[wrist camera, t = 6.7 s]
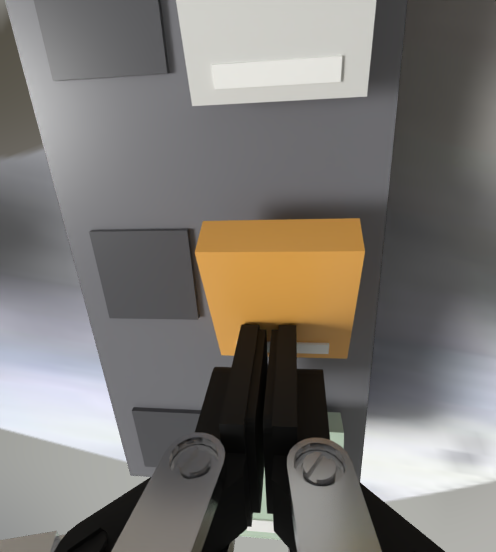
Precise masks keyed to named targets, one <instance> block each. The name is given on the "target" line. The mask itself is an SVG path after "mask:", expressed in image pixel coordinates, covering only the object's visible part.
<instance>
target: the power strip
mask: <svg viewBox="0 0 496 552" xmlns="http://www.w3.org/2000/svg"><path fill="white" fill-rule="evenodd" d="M407 1H408V0H376V10H375V20H374V30H373V40H372V50H371V60H370V71H369V81H368V91H367V97H350V98H331V99H313V100H295V101H277V102H259V103H241V104H223V105H204V106H192V101H191V95H190V88H189V82H188V75H187V69H186V62H185V56H184V50H183V43H182V37H181V30H180V24H179V17H178V11H177V4H176V0H5V2H6V6H7V10H8V14H9V18H10V21H11V25H12V29H13V33H14V36H15V40H16V44H17V48H18V51H19V55H20V59H21V63H22V66H23V71H24V74H25V78H26V82H27V86H28V89H29V93H30V97H31V101H32V104H33V108H34V112H35V116H36V119H37V123H38V127H39V131H40V135H41V139H42V142H43V146H44V150H45V154H46V158H47V161H48V165H49V169H50V173H51V176H52V180H53V184H54V188H55V192H56V195H57V199H58V203H59V207H60V210H61V214H62V218H63V222H64V226H65V229H66V233H67V237H68V241H69V244H70V248H71V252H72V256H73V260H74V263H75V267H76V271H77V275H78V278H79V282H80V286H81V290H82V294H83V297H84V301H85V305H86V309H87V313H88V316H89V320H90V324H91V328H92V331H93V335H94V339H95V343H96V347H97V350H98V354H99V358H100V362H101V365H102V369H103V373H104V377H105V381H106V384H107V388H108V392H109V396H110V399H111V403H112V407H113V411H114V415H115V418H116V422H117V426H118V430H119V433H120V437H121V441H122V445H123V449H124V452H125V456H126V460H127V464H128V467H129V471H130V475H132V476H146V477H152V475H153V473H154V471H155V469H156V467H157V465H158V464H159V462H160V460H161V458H162V456H163V454H164V452H165V451H166V449H167V448H168V447H169V445H170V444H171V443H173V442H174V441H175V440H176V439H178V438H180V437H182V436H184V435H186V434H190V433H195V430H196V426H197V423H198V419H199V416H200V412H201V409H202V405H203V402H204V399H205V395H206V392H207V388H208V385H209V381H210V378H211V374H212V371H213V369H214V367H232V363H233V358H234V356H229V355H221V352H220V348H219V344H218V340H217V336H216V333H215V329H214V325H213V321H212V317H211V313H210V310H209V306H208V302H207V298H206V294H205V290H204V287H203V283H202V279H201V275H200V271H199V267H198V263H197V260H196V256H195V249H196V245H197V241H198V238H199V234H200V230H201V226H202V222H203V221H228V220H287V219H345V218H360V223H361V229H362V236H363V242H364V248H365V255H364V261H363V267H362V273H361V279H360V285H359V291H358V297H357V303H356V309H355V315H354V321H353V327H352V333H351V339H350V345H349V351H348V357H347V359H340V358H303V357H297V369H323V373H324V383H325V392H326V402H327V412H340V413H341V419H342V424H343V430H344V450H345V451H346V452H347V453H348V455H349V456H350V458H351V460H352V463H353V466H354V469H355V472H356V475H357V478H358V481H359V482H360V476H361V466H362V456H363V446H364V436H365V425H366V415H367V405H368V395H369V385H370V375H371V365H372V355H373V345H374V334H375V324H376V314H377V304H378V294H379V284H380V274H381V264H382V254H383V243H384V233H385V223H386V213H387V203H388V193H389V183H390V173H391V163H392V152H393V142H394V132H395V122H396V112H397V102H398V92H399V82H400V72H401V61H402V51H403V41H404V31H405V21H406V11H407ZM268 361H269V357H268Z"/></svg>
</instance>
